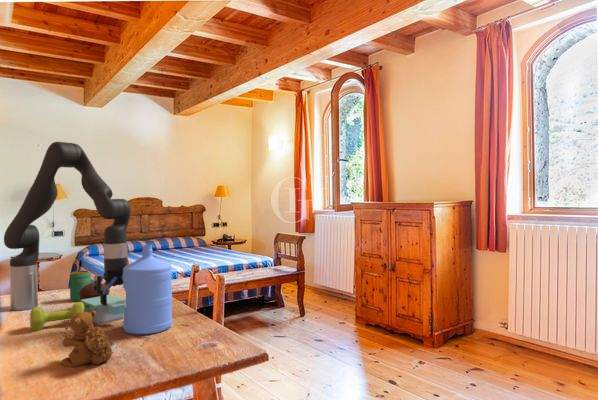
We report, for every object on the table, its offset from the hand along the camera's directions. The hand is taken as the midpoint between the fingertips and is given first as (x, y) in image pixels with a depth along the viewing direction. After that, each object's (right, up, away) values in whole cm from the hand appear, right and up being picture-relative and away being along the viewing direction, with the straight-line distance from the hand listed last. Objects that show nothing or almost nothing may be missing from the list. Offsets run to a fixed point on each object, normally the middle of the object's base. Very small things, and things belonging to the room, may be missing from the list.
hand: (116, 302), depth 145 cm
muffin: (-18, -8, +21) cm, 29 cm away
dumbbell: (-20, -8, -1) cm, 21 cm away
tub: (-8, -8, +7) cm, 13 cm away
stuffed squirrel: (+7, -8, -33) cm, 34 cm away
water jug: (+13, -8, -4) cm, 15 cm away
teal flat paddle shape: (-6, -3, +5) cm, 8 cm away
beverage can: (-31, -8, +35) cm, 48 cm away
